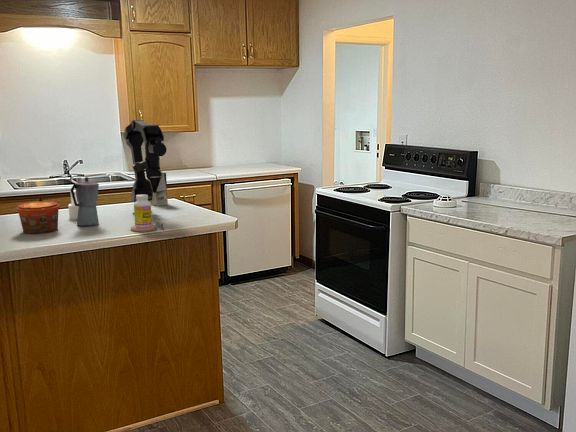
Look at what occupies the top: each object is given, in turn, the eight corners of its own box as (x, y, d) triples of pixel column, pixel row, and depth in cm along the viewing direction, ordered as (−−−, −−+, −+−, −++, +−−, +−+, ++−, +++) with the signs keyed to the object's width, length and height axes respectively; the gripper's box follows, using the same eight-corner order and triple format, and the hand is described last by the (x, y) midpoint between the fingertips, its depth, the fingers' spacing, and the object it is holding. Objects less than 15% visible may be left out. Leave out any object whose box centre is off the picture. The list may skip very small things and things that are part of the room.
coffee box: (168, 204, 284) (166, 172, 281) (157, 206, 280) (155, 174, 276) (159, 202, 290) (157, 171, 287) (147, 203, 286) (146, 172, 283)
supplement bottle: (142, 229, 224) (141, 197, 221) (131, 227, 227) (129, 195, 225) (155, 225, 229) (153, 194, 227) (144, 224, 233) (142, 193, 230)
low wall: (155, 225, 235) (155, 219, 235) (157, 225, 236) (157, 219, 235) (161, 229, 227) (161, 223, 226) (163, 229, 227) (163, 223, 226)
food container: (18, 236, 217) (15, 209, 215) (19, 228, 231) (16, 202, 229) (62, 232, 223) (60, 206, 221) (61, 225, 238) (58, 199, 236)
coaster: (125, 230, 225) (125, 228, 225) (140, 225, 235) (140, 223, 234) (147, 232, 222) (146, 230, 222) (161, 227, 231) (160, 225, 231)
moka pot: (108, 221, 243) (105, 175, 239) (85, 229, 229) (81, 180, 225) (90, 220, 246) (86, 175, 242) (65, 227, 232) (61, 179, 228)
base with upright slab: (94, 217, 253) (92, 190, 251) (75, 220, 247) (73, 193, 245) (84, 214, 259) (82, 188, 257) (65, 217, 253) (63, 191, 251)
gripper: (132, 153, 246) (134, 189, 249) (132, 157, 228) (134, 195, 231) (158, 152, 248) (160, 187, 252) (160, 156, 231) (162, 194, 234)
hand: (154, 191), depth 242 cm, fingers open, 9 cm apart
